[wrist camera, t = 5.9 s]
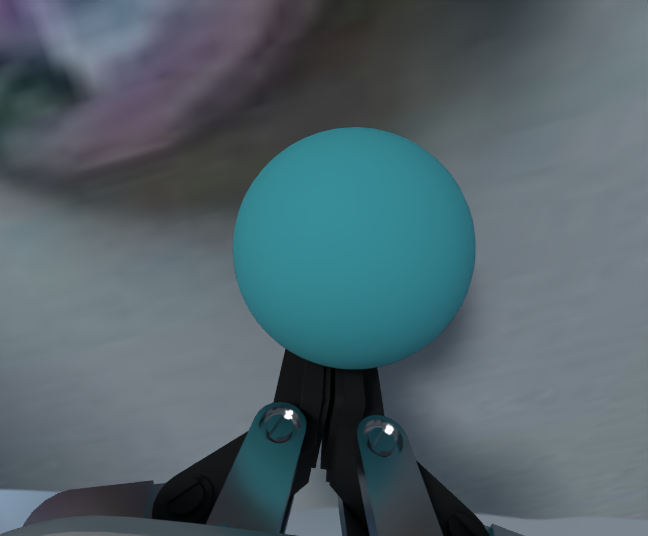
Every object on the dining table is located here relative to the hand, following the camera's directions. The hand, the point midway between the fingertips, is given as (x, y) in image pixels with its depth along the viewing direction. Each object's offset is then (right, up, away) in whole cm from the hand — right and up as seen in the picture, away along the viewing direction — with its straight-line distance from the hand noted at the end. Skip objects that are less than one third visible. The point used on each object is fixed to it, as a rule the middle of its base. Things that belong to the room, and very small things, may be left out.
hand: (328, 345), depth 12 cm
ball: (0, +3, -4) cm, 5 cm away
